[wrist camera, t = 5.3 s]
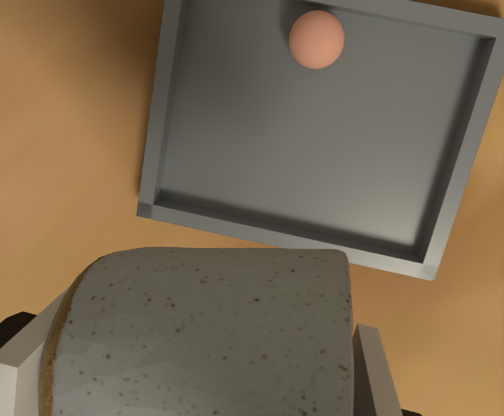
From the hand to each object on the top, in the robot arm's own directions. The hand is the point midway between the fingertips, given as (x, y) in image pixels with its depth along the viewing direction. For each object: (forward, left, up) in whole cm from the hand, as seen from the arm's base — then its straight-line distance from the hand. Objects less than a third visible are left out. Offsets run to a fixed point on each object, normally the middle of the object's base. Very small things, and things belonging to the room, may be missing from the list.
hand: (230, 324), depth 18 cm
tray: (+2, +6, -16) cm, 17 cm away
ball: (0, +11, -14) cm, 18 cm away
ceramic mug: (+1, -1, -1) cm, 1 cm away
